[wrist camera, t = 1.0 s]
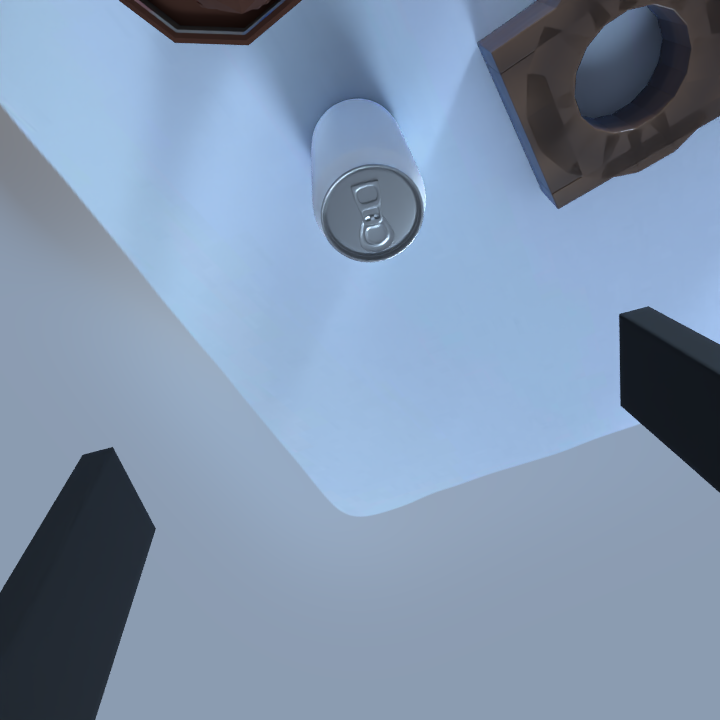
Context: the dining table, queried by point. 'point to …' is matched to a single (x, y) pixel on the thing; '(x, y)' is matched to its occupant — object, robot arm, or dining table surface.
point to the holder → (626, 126)
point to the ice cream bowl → (211, 18)
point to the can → (365, 182)
